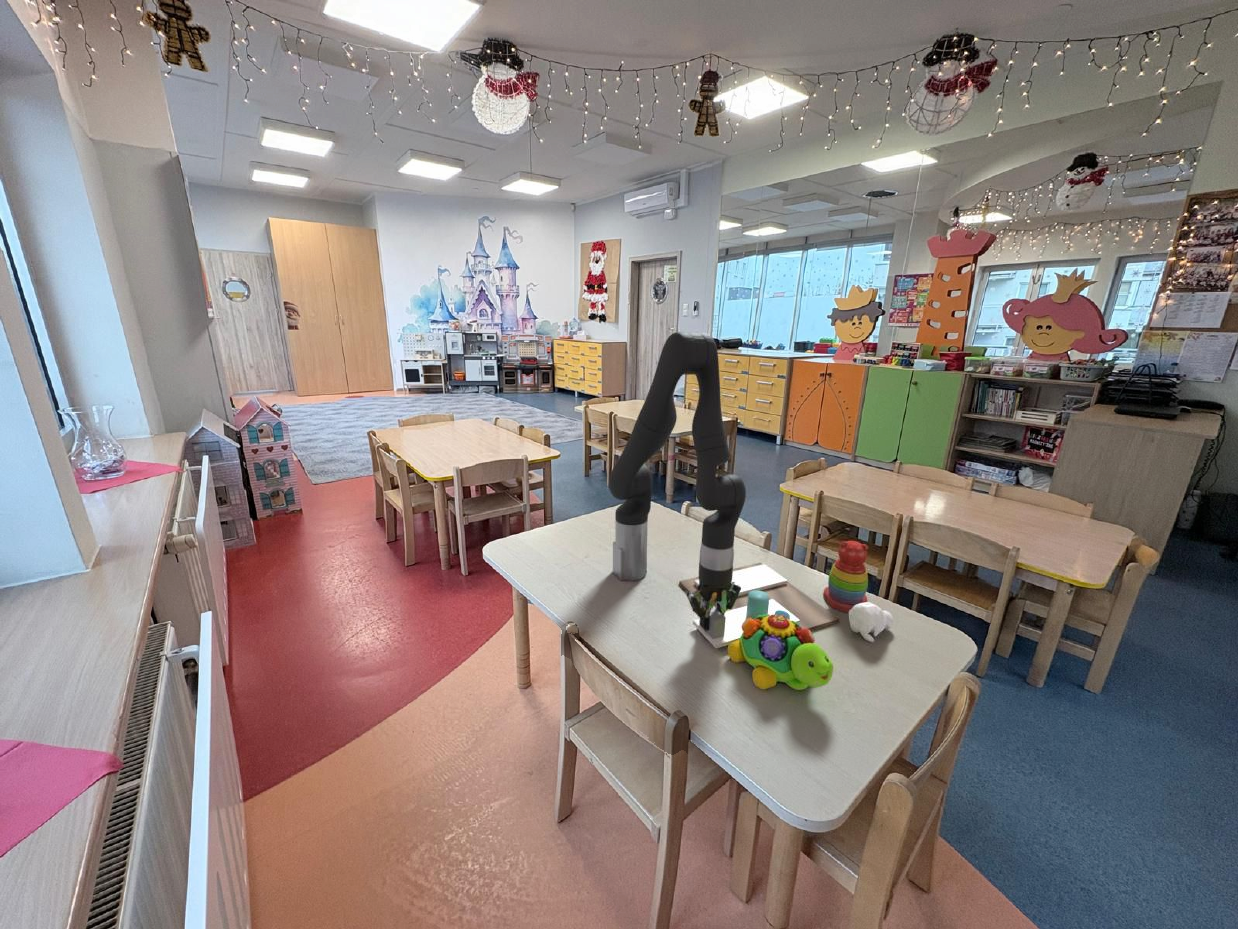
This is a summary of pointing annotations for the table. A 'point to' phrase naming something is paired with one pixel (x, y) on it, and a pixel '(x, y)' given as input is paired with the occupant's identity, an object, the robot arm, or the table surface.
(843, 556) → the stacking bear
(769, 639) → the turtle toy
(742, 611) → the strip
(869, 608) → the white toy rabbit
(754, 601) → the teal cylinder
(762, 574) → the empty strip
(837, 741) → the table surface
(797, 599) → the lane board
